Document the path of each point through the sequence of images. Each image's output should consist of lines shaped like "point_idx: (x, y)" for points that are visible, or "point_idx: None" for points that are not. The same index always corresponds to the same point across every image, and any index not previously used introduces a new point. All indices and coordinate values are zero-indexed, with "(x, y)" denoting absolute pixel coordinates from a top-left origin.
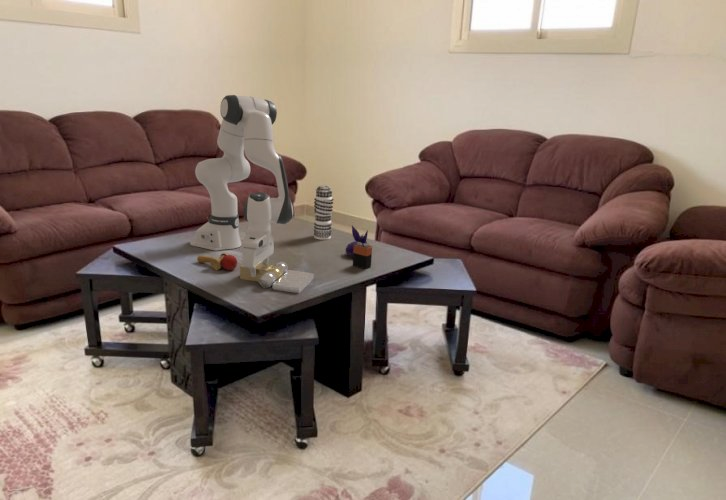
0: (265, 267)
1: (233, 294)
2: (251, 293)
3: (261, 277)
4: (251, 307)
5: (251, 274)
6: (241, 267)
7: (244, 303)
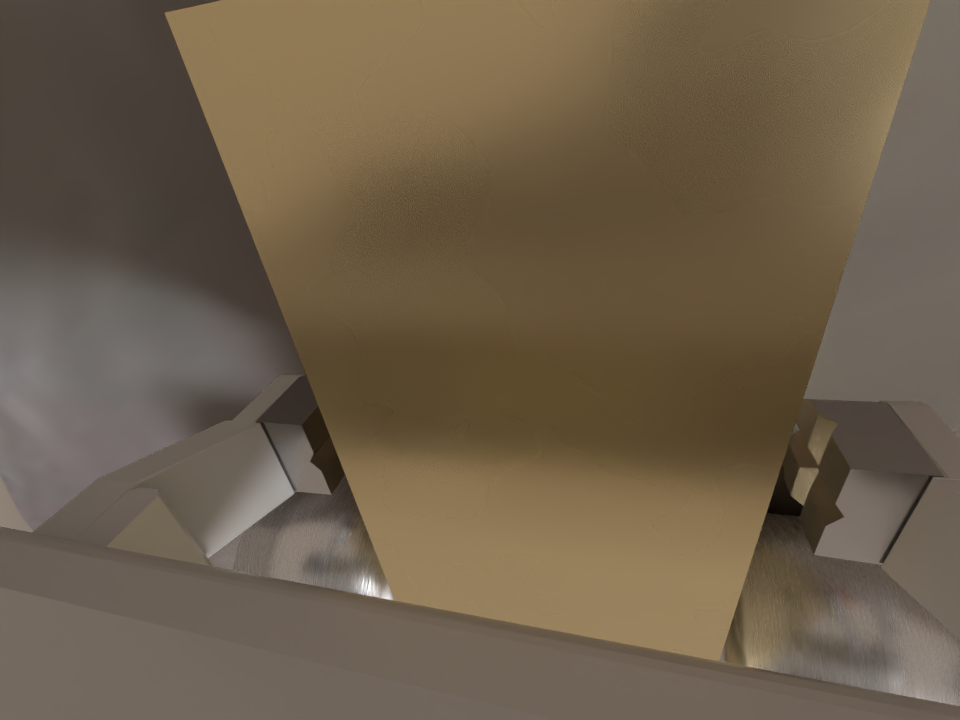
0: (521, 607)
1: (4, 282)
2: (163, 418)
3: (247, 558)
4: (41, 485)
5: (269, 399)
6: (215, 86)
7: (23, 433)
